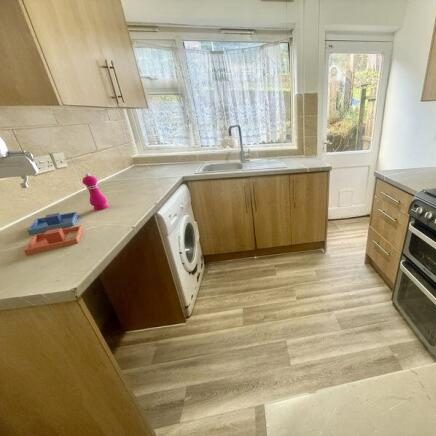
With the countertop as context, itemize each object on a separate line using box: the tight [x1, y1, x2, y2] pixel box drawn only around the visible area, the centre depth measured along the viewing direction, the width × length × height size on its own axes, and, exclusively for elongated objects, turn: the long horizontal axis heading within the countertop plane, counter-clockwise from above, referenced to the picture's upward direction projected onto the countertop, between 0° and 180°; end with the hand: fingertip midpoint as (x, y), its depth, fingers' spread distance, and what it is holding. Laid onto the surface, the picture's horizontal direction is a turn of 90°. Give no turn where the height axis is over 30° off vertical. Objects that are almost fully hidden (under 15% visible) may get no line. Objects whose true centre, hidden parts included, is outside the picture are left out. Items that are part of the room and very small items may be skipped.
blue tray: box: [26, 211, 79, 236], centre depth 115 cm, size 15×15×2 cm
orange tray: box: [23, 225, 83, 257], centre depth 99 cm, size 15×15×2 cm
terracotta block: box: [44, 228, 66, 244], centre depth 99 cm, size 4×4×4 cm
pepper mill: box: [82, 172, 109, 211], centre depth 130 cm, size 7×7×20 cm
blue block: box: [45, 212, 63, 226], centre depth 114 cm, size 4×4×4 cm
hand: (8, 189), depth 92 cm, fingers open, 8 cm apart
